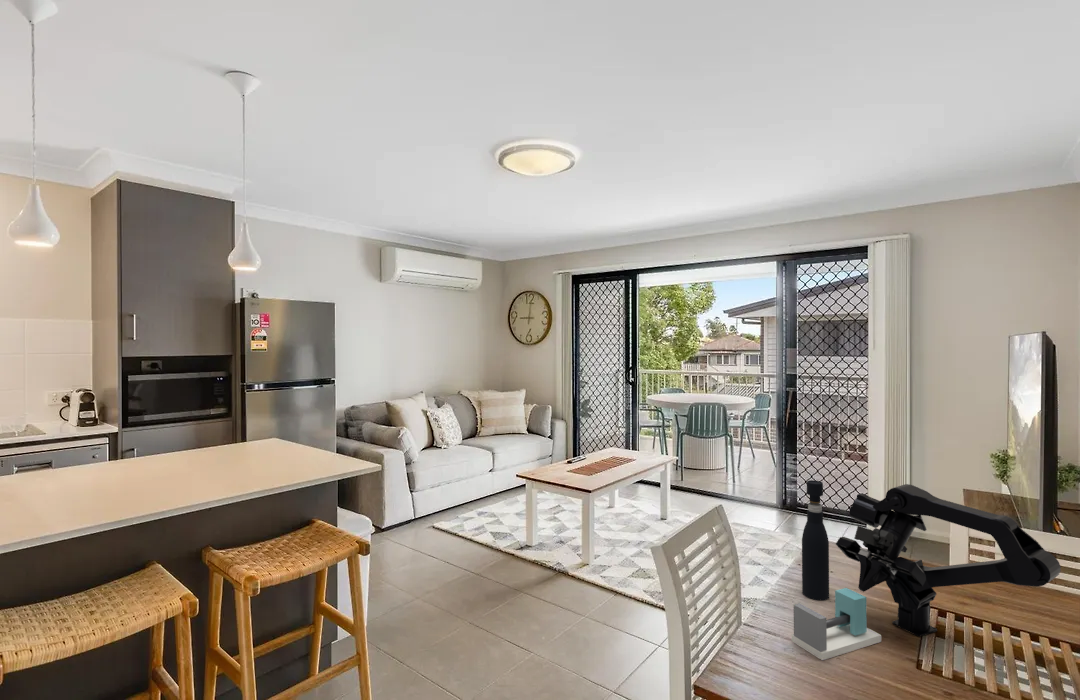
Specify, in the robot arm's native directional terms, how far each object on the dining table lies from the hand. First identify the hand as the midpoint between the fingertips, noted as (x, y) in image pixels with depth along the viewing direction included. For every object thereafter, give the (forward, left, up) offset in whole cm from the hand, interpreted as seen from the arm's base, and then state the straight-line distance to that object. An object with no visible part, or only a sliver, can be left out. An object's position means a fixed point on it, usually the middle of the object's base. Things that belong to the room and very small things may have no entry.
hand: (860, 590), depth 124 cm
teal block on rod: (+3, 0, -8) cm, 9 cm away
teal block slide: (+8, 0, -10) cm, 13 cm away
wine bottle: (-7, -18, -10) cm, 22 cm away
